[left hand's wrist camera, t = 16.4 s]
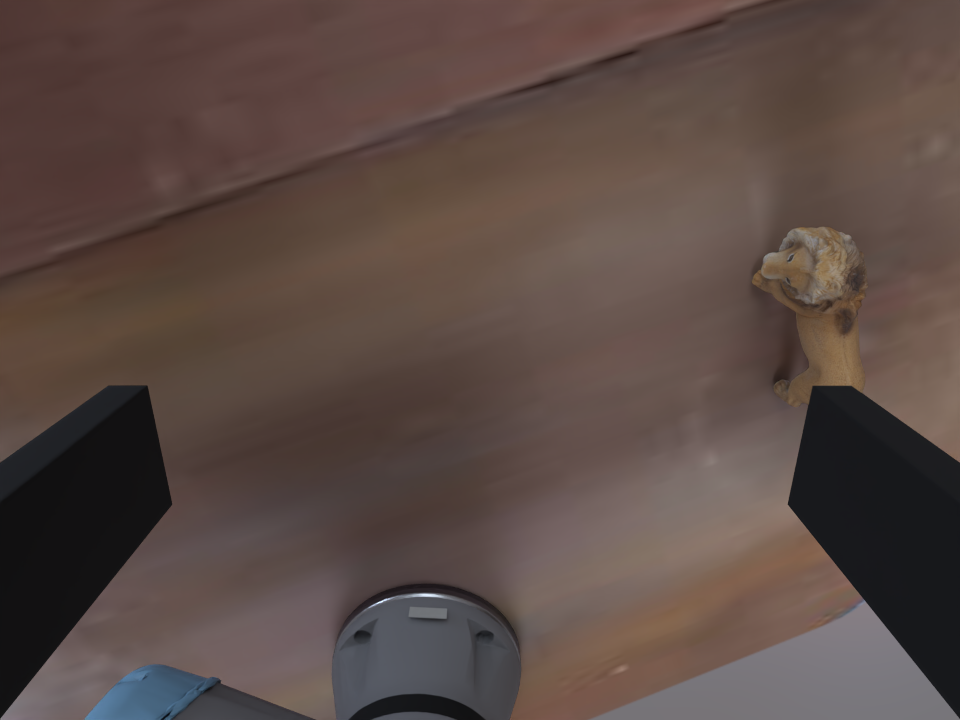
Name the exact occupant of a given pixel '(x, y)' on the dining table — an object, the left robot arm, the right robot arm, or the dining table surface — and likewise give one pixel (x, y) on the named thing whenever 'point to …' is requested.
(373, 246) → the dining table surface
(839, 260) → the lion figurine
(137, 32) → the dining table surface
